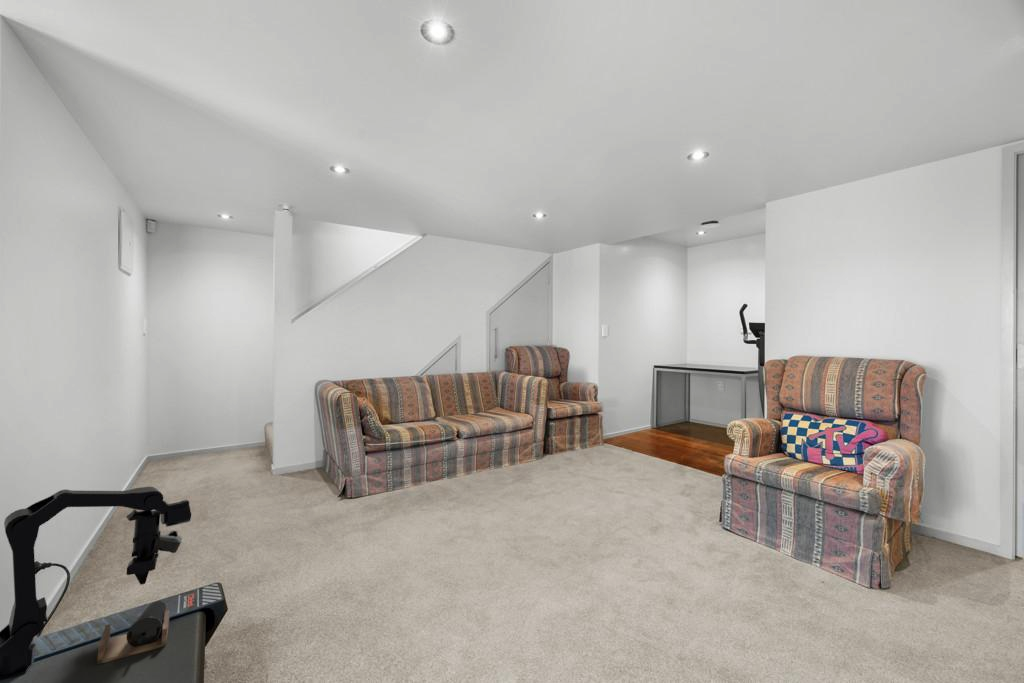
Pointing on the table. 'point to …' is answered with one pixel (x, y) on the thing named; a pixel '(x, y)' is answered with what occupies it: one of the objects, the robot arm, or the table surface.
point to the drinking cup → (147, 625)
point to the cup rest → (127, 644)
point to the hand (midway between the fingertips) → (143, 583)
